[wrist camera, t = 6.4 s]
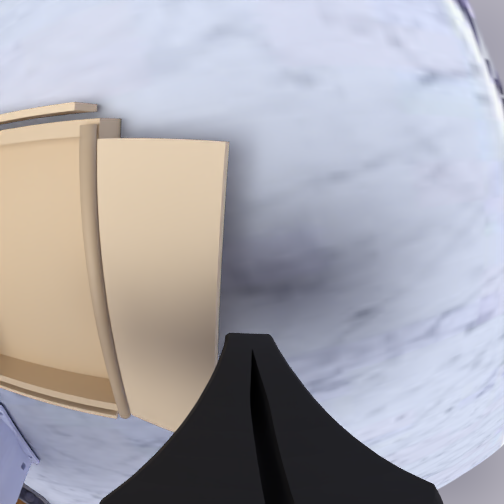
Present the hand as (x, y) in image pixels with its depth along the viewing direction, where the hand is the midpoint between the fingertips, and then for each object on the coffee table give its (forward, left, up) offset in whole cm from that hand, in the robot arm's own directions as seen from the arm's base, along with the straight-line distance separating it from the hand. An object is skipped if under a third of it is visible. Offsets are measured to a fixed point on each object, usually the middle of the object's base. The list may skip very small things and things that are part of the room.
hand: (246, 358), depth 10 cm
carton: (0, +12, -5) cm, 13 cm away
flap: (0, +6, -2) cm, 6 cm away
